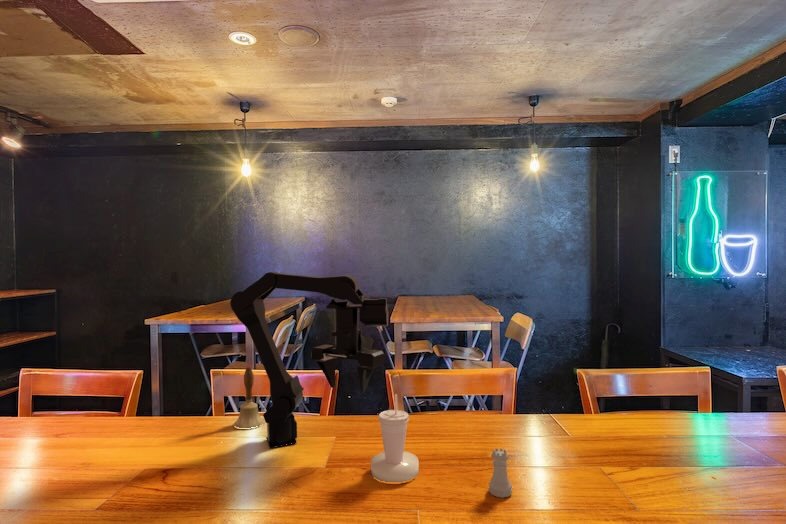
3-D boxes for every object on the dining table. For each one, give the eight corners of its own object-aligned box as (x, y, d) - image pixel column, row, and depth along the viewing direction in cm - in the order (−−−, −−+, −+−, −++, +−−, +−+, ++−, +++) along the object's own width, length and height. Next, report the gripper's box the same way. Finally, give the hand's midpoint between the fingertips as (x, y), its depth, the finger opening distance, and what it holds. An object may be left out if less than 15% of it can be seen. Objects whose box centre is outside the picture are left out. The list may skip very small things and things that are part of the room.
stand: (382, 489, 88) (381, 476, 88) (364, 467, 97) (364, 456, 97) (427, 478, 92) (426, 466, 92) (406, 458, 101) (406, 447, 101)
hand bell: (269, 419, 127) (268, 363, 127) (257, 430, 119) (256, 370, 119) (241, 418, 128) (240, 363, 128) (227, 430, 120) (226, 370, 120)
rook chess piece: (495, 484, 89) (494, 444, 89) (516, 491, 86) (515, 450, 86) (484, 493, 85) (483, 452, 85) (506, 501, 83) (505, 458, 82)
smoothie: (404, 469, 90) (403, 400, 90) (374, 465, 92) (373, 397, 92) (412, 455, 97) (412, 391, 96) (384, 452, 98) (383, 388, 98)
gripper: (396, 324, 112) (397, 386, 112) (337, 320, 122) (338, 377, 122) (370, 331, 102) (372, 399, 102) (309, 325, 112) (310, 388, 112)
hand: (347, 390), depth 110 cm, fingers open, 9 cm apart
